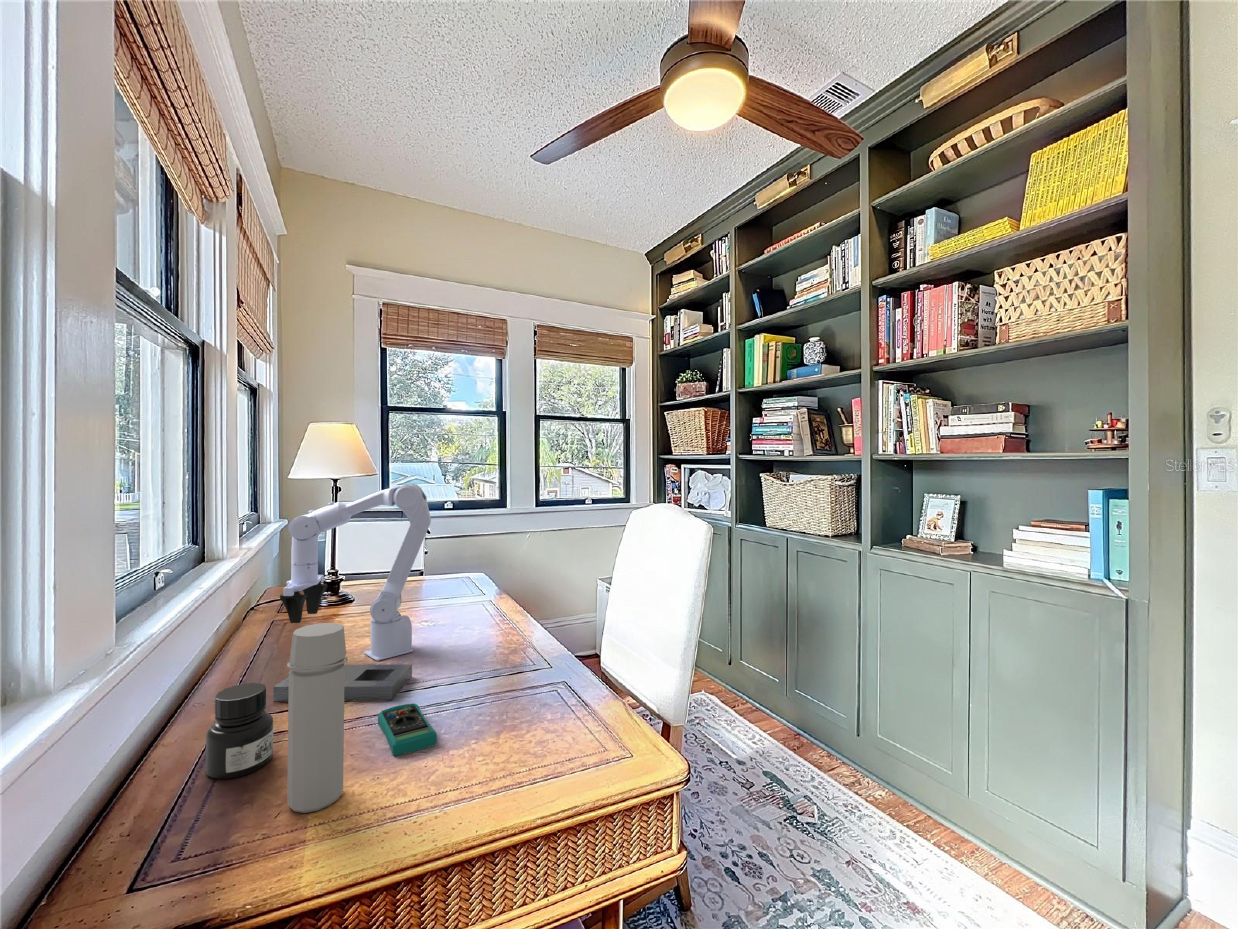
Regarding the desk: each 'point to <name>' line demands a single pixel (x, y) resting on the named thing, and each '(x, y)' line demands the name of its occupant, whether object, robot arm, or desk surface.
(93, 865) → the desk surface
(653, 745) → the desk surface
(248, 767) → the ink bottle
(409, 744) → the digital multimeter
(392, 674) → the jack panel
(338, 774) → the water bottle
